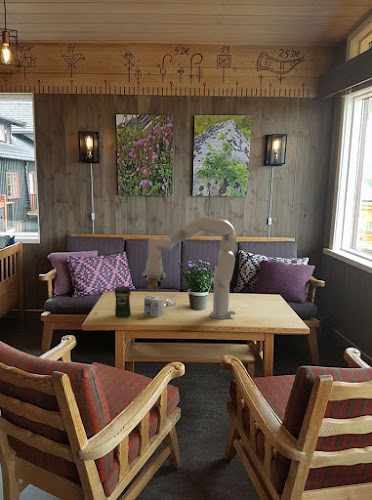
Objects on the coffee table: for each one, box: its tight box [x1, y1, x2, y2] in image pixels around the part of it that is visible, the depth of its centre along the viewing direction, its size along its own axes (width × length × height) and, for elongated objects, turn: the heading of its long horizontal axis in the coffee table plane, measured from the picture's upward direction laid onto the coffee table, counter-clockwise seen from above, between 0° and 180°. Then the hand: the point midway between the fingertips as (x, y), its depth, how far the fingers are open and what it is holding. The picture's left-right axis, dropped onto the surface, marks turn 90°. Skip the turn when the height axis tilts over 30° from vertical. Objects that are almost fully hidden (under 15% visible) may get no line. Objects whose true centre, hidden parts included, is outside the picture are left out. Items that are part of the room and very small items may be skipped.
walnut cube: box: [147, 276, 161, 290], centre depth 249 cm, size 6×6×6 cm
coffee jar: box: [114, 285, 132, 319], centre depth 247 cm, size 10×8×19 cm
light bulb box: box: [143, 295, 165, 318], centre depth 252 cm, size 11×7×11 cm, turn 62°
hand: (153, 286), depth 250 cm, fingers closed on walnut cube, 6 cm apart
